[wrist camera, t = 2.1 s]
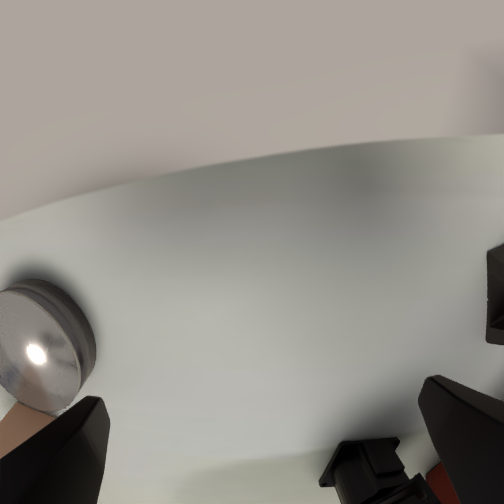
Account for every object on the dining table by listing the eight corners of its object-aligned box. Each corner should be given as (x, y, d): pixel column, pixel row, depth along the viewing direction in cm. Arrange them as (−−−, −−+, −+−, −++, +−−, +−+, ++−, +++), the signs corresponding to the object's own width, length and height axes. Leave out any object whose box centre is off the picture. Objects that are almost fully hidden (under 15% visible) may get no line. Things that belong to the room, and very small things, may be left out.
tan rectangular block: (68, 454, 22) (27, 543, 10) (26, 437, 21) (-22, 515, 9) (60, 419, 21) (6, 516, 9) (16, 401, 20) (-46, 482, 9)
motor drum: (98, 399, 21) (83, 426, 17) (9, 367, 20) (-12, 387, 16) (96, 294, 19) (75, 312, 16) (-1, 267, 18) (-29, 279, 15)
